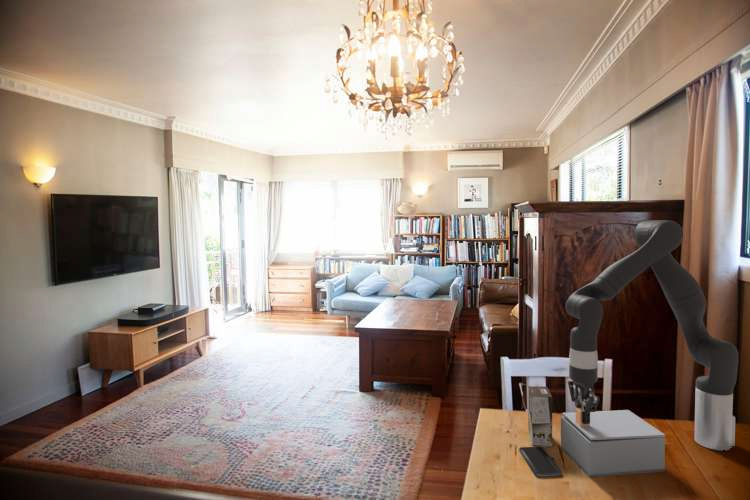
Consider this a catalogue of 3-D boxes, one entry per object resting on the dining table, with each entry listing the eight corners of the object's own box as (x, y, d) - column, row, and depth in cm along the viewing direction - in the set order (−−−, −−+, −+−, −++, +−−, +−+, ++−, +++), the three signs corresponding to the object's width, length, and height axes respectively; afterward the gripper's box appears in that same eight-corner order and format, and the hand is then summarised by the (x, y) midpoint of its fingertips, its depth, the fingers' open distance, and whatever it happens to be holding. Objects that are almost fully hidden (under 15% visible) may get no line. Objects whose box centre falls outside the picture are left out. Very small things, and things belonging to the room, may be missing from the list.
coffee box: (553, 447, 140) (552, 397, 139) (531, 445, 141) (531, 396, 140) (547, 433, 149) (547, 386, 148) (527, 431, 150) (527, 385, 149)
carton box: (627, 442, 141) (628, 412, 140) (664, 471, 125) (665, 437, 124) (560, 447, 139) (560, 416, 139) (589, 477, 123) (589, 442, 123)
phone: (536, 475, 124) (518, 447, 139) (536, 479, 124) (518, 450, 139) (564, 474, 124) (543, 446, 139) (564, 478, 124) (543, 449, 139)
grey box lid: (628, 411, 140) (628, 396, 140) (665, 436, 124) (665, 419, 124) (562, 414, 139) (562, 398, 138) (590, 440, 123) (591, 422, 122)
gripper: (610, 371, 123) (609, 431, 124) (582, 355, 137) (582, 410, 138) (583, 372, 122) (583, 433, 123) (559, 356, 136) (559, 411, 137)
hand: (582, 420), depth 131 cm, fingers closed on grey box lid, 2 cm apart
